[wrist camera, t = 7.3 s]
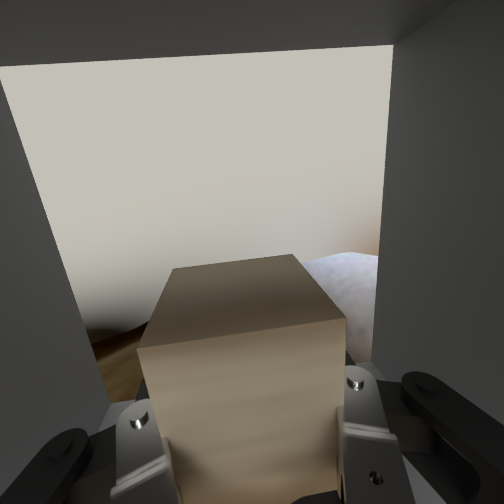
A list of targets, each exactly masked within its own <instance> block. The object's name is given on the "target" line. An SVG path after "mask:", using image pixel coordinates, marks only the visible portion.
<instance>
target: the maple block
mask: <svg viewBox="0 0 504 504" xmlns="http://www.w3.org/2000/svg"><path fill="white" fill-rule="evenodd" d="M136 350H137V353H138V357H139V360H140V364H141V368H142V371H143V375H144V379H145V382H146V386H147V389H148V393H149V397H150V400H151V404H152V407H153V411H154V415H155V418H156V422H157V426H158V429H159V433H160V436H161V437H167V441H168V445H169V448H170V453H171V458H172V463H173V468H174V472H175V476H176V481H177V485H178V486H180V490H181V493H182V497H183V502H184V504H291V503H292V502H294V501H296V500H298V499H299V498H301V497H304V496H309V495H313V494H318V493H323V492H328V491H333V490H337V475H336V455H339V444H338V427H337V406H341V405H344V387H345V352H346V317H345V315H344V314H343V313H342V312H341V311H340V309H339V308H338V307H337V306H336V305H335V304H334V302H333V301H332V300H331V299H330V298H329V296H328V295H327V294H326V293H325V292H324V291H323V289H322V288H321V287H320V286H319V285H318V284H317V282H316V281H315V280H314V279H313V278H312V276H311V275H310V274H309V273H308V272H307V271H306V269H305V268H304V267H303V266H302V265H301V264H300V262H299V261H298V260H297V259H296V258H295V256H294V255H293V254H288V255H280V256H273V257H264V258H256V259H248V260H240V261H233V262H225V263H216V264H208V265H200V266H192V267H184V268H176V269H173V270H172V272H171V275H170V277H169V279H168V281H167V283H166V286H165V288H164V290H163V292H162V294H161V297H160V299H159V301H158V303H157V305H156V307H155V309H154V312H153V314H152V316H151V318H150V320H149V322H148V325H147V327H146V329H145V331H144V333H143V336H142V338H141V340H140V342H139V344H138V346H137V349H136Z"/></svg>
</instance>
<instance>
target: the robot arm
mask: <svg viewBox="0 0 504 504" xmlns="http://www.w3.org/2000/svg"><path fill="white" fill-rule="evenodd" d="M337 427H338V444H339V455H336V475H337V490H333V491H328V492H323V493H318V494H313V495H309V496H304V497H301V498H299V499H298V500H296V501H294V502H292V503H291V504H416V503H415V499H414V496H413V492H412V488H411V485H410V481H409V478H408V474H407V471H406V467H405V464H404V460H403V457H402V454H403V455H404V457H405V458H406V459H407V460H408V461H409V462H410V463H411V464H412V466H413V467H414V468H415V469H416V470H417V471H418V472H419V473H420V474H421V476H422V477H423V478H424V479H425V480H426V481H427V482H428V483H429V484H430V486H431V487H432V488H433V489H434V490H435V491H436V492H437V493H438V495H439V496H440V497H441V498H442V499H443V500H444V501H445V502H446V503H447V504H504V425H503V424H501V423H500V422H498V421H497V420H496V419H494V418H493V417H491V416H490V415H489V414H487V413H486V412H484V411H483V410H482V409H480V408H479V407H477V406H476V405H475V404H473V403H472V402H470V401H469V400H468V399H466V398H465V397H463V396H462V395H461V394H459V393H458V392H456V391H455V390H453V389H452V388H451V387H449V386H448V385H446V384H445V383H444V382H442V381H441V380H439V379H438V378H436V377H434V376H432V375H430V374H427V373H424V372H418V371H412V372H408V373H406V374H404V375H403V377H402V380H401V382H391V381H382V380H377V379H375V378H374V376H373V375H372V374H371V373H370V372H369V371H367V370H365V369H363V368H361V367H358V366H356V364H355V363H354V361H353V360H352V358H351V357H350V355H349V354H348V353H347V351H346V352H345V387H344V405H341V406H337ZM443 438H444V439H445V440H446V441H445V440H444V439H443ZM451 445H452V446H453V447H454V448H455V449H456V450H457V451H456V450H455V449H454V448H453V447H452V446H451ZM462 455H463V456H464V457H465V458H466V459H467V460H466V459H465V458H464V457H463V456H462ZM0 504H184V502H183V497H182V493H181V490H180V486H178V485H177V481H176V476H175V472H174V468H173V463H172V458H171V453H170V448H169V445H168V441H167V437H161V436H160V433H159V429H158V426H157V422H156V418H155V415H154V411H153V407H152V404H151V400H150V397H149V393H148V389H147V386H146V382H145V379H144V377H143V380H142V383H141V386H140V389H139V391H138V394H137V397H136V400H135V402H134V403H133V404H131V405H130V406H128V407H127V408H126V409H125V410H124V411H123V412H122V413H121V415H120V416H119V418H118V420H117V423H116V424H115V425H113V426H111V427H109V428H107V429H105V430H102V431H100V432H98V433H96V434H93V435H91V436H89V437H88V434H87V432H86V431H85V430H84V429H82V428H73V429H69V430H66V431H64V432H62V433H60V434H58V435H56V436H55V437H53V438H52V439H51V440H49V441H48V442H47V443H46V444H45V445H44V446H43V447H42V448H41V449H40V451H39V452H38V453H37V454H36V455H35V456H34V458H33V459H32V460H31V461H30V462H29V463H28V465H27V466H26V467H25V468H24V469H23V471H22V472H21V473H20V474H19V475H18V476H17V478H16V479H15V480H14V481H13V482H12V484H11V485H10V486H9V487H8V488H7V489H6V491H5V492H4V493H3V494H2V495H1V496H0Z"/></svg>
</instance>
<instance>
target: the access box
mask: <svg viewBox="0 0 504 504" xmlns="http://www.w3.org/2000/svg"><path fill="white" fill-rule="evenodd" d="M377 45H394V46H393V60H392V76H391V89H390V102H389V116H388V130H387V145H386V159H385V173H384V187H383V201H382V216H381V230H380V244H379V257H378V271H377V285H376V299H375V313H374V328H373V342H372V356H371V361H366V362H360V363H355V364H356V366H358V367H361V368H363V369H365V370H367V371H369V372H370V373H371V374H372V375H373V376H374V378H375V379H377V380H382V381H391V382H401V380H402V377H403V375H404V374H406V373H408V372H412V371H418V372H424V373H427V374H430V375H432V376H434V377H436V378H438V379H439V380H441V381H442V382H444V383H445V384H446V385H448V386H449V387H451V388H452V389H453V390H455V391H456V392H458V393H459V394H461V395H462V396H463V397H465V398H466V399H468V400H469V401H470V402H472V403H473V404H475V405H476V406H477V407H479V408H480V409H482V410H483V411H484V412H486V413H487V414H489V415H490V416H491V417H493V418H494V419H496V420H497V421H498V422H500V423H501V424H503V425H504V0H0V66H17V65H36V64H55V63H72V62H90V61H108V60H126V59H143V58H160V57H161V58H162V57H180V56H198V55H216V54H234V53H251V52H268V51H269V52H270V51H288V50H306V49H324V48H341V47H359V46H377ZM135 400H136V399H135ZM135 400H128V401H122V402H116V403H110V400H109V397H108V394H107V391H106V388H105V385H104V382H103V379H102V376H101V373H100V371H99V368H98V365H97V362H96V359H95V356H94V353H93V350H92V347H91V344H90V341H89V338H88V336H87V332H86V330H85V327H84V324H83V321H82V318H81V315H80V312H79V309H78V306H77V303H76V300H75V297H74V294H73V291H72V289H71V286H70V283H69V280H68V277H67V274H66V271H65V268H64V266H63V263H62V259H61V256H60V254H59V251H58V248H57V245H56V242H55V239H54V236H53V233H52V230H51V227H50V224H49V221H48V218H47V215H46V212H45V210H44V207H43V204H42V201H41V198H40V195H39V192H38V189H37V186H36V183H35V180H34V177H33V175H32V172H31V169H30V166H29V163H28V160H27V157H26V154H25V151H24V148H23V146H22V142H21V139H20V136H19V133H18V131H17V128H16V125H15V122H14V119H13V116H12V113H11V110H10V107H9V104H8V102H7V98H6V95H5V92H4V90H3V87H2V84H1V81H0V496H1V495H2V494H3V493H4V492H5V491H6V489H7V488H8V487H9V486H10V485H11V484H12V482H13V481H14V480H15V479H16V478H17V476H18V475H19V474H20V473H21V472H22V471H23V469H24V468H25V467H26V466H27V465H28V463H29V462H30V461H31V460H32V459H33V458H34V456H35V455H36V454H37V453H38V452H39V451H40V449H41V448H42V447H43V446H44V445H45V444H46V443H47V442H48V441H49V440H51V439H52V438H53V437H55V436H56V435H58V434H60V433H62V432H64V431H66V430H69V429H73V428H82V429H84V430H85V431H86V432H87V434H88V437H89V436H91V435H93V434H96V433H98V432H100V431H102V430H105V429H107V428H109V427H111V426H113V425H115V424H116V423H117V420H118V418H119V416H120V415H121V413H122V412H123V411H124V410H125V409H126V408H127V407H128V406H130V405H131V404H133V403H134V402H135ZM443 439H444V438H443ZM444 440H445V439H444ZM445 441H446V440H445ZM451 446H452V445H451ZM452 447H453V446H452ZM453 448H454V447H453ZM454 449H455V448H454ZM455 450H456V449H455ZM456 451H457V450H456ZM462 456H463V455H462ZM402 457H403V460H404V464H405V467H406V471H407V474H408V478H409V481H410V485H411V488H412V492H413V496H414V499H415V503H416V504H447V503H446V502H445V501H444V500H443V499H442V498H441V497H440V496H439V495H438V493H437V492H436V491H435V490H434V489H433V488H432V487H431V486H430V484H429V483H428V482H427V481H426V480H425V479H424V478H423V477H422V476H421V474H420V473H419V472H418V471H417V470H416V469H415V468H414V467H413V466H412V464H411V463H410V462H409V461H408V460H407V459H406V458H405V457H404V455H403V454H402ZM463 457H464V456H463ZM464 458H465V457H464ZM465 459H466V458H465ZM466 460H467V459H466Z"/></svg>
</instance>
